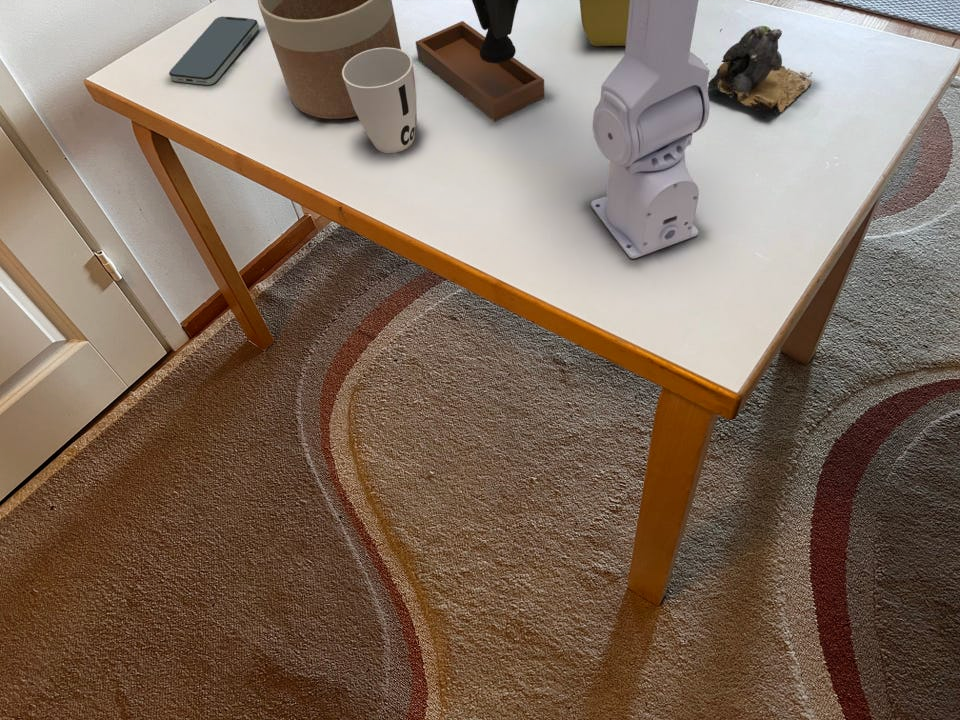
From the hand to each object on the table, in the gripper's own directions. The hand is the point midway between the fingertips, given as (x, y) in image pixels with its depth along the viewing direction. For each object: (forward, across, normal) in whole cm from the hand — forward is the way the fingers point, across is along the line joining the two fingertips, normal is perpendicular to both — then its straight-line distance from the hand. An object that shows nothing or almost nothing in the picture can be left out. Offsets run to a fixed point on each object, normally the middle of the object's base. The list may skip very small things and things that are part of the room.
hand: (496, 30), depth 86 cm
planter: (+9, -16, -14) cm, 23 cm away
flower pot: (+9, -1, +19) cm, 21 cm away
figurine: (+9, +20, +24) cm, 33 cm away
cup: (+9, -2, -15) cm, 18 cm away
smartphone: (+9, -37, -26) cm, 46 cm away
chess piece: (+3, 0, 0) cm, 3 cm away
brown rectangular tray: (+9, -6, 0) cm, 11 cm away
